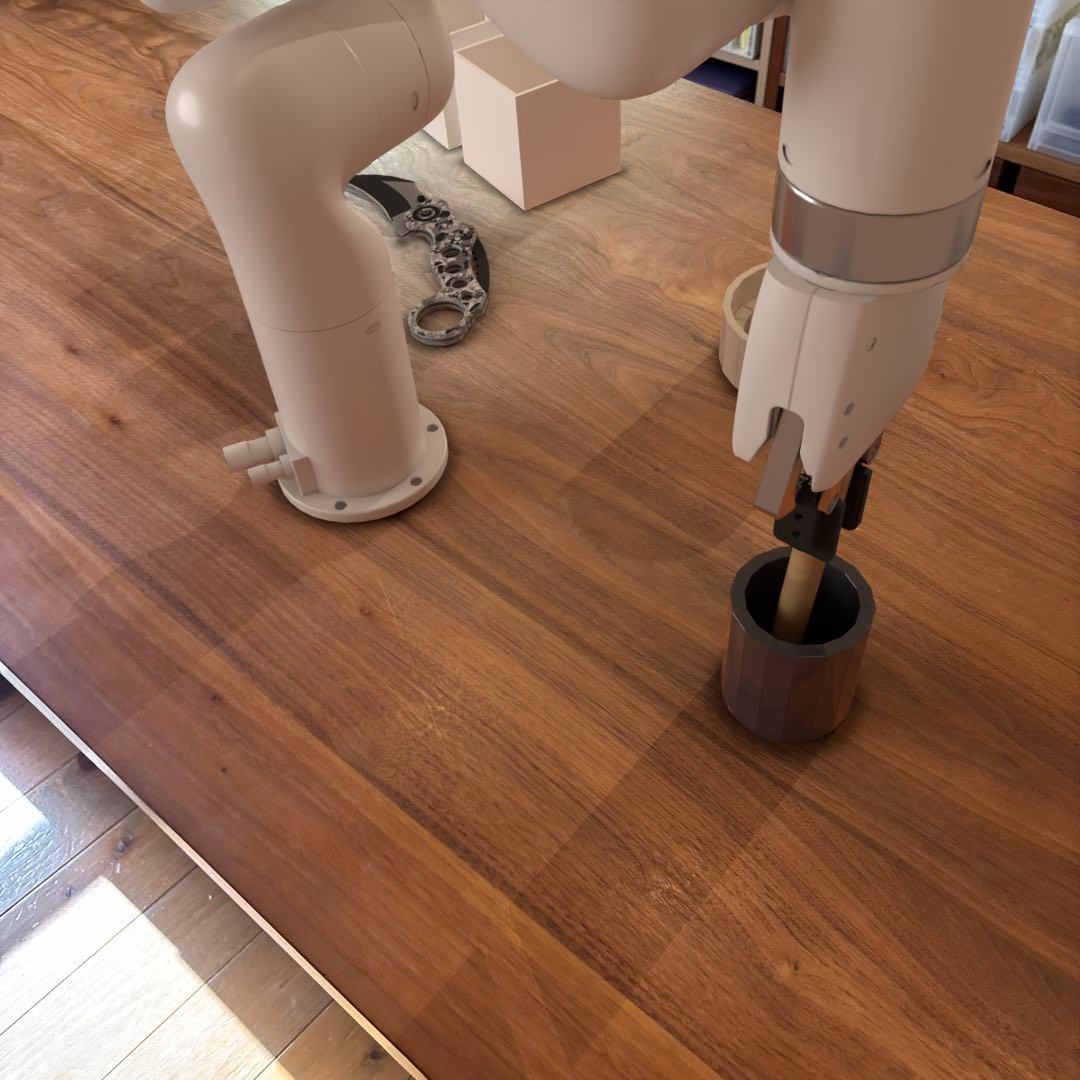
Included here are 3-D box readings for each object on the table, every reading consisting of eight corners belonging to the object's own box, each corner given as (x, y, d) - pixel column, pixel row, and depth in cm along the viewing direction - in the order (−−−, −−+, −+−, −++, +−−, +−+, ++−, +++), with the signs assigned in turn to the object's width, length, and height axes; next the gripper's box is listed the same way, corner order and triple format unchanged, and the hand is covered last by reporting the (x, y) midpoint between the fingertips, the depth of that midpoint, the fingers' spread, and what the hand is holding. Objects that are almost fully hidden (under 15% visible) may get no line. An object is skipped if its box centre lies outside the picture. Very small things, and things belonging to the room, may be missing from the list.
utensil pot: (759, 766, 63) (774, 676, 56) (698, 665, 68) (706, 572, 61) (875, 720, 65) (903, 627, 58) (808, 624, 70) (826, 529, 63)
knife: (332, 173, 107) (431, 144, 108) (336, 187, 108) (434, 158, 109) (404, 348, 89) (521, 311, 90) (408, 362, 90) (524, 326, 91)
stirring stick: (775, 683, 64) (835, 473, 50) (756, 660, 65) (809, 448, 51) (800, 670, 65) (865, 458, 51) (781, 647, 66) (840, 434, 52)
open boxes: (396, 108, 117) (379, 1, 109) (485, 76, 121) (474, -30, 112) (524, 210, 102) (515, 97, 94) (620, 170, 106) (620, 57, 98)
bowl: (767, 435, 81) (774, 377, 77) (692, 340, 89) (694, 283, 84) (912, 388, 83) (926, 329, 79) (826, 299, 91) (835, 241, 87)
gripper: (882, 92, 47) (827, 415, 61) (672, 277, 40) (664, 598, 53) (1056, 140, 44) (956, 470, 58) (864, 352, 36) (802, 674, 50)
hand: (816, 529), depth 55 cm, fingers closed on stirring stick, 1 cm apart
